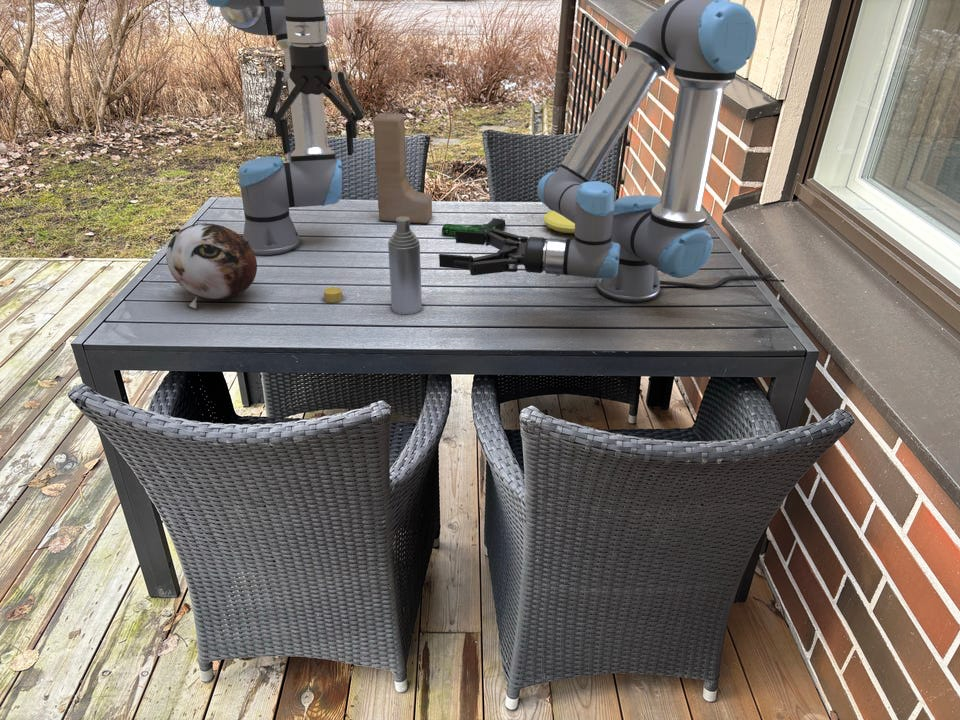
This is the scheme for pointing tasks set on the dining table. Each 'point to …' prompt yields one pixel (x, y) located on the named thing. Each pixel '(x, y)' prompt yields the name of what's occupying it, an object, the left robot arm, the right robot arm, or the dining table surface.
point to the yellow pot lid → (559, 222)
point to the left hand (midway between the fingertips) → (318, 153)
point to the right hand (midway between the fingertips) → (448, 248)
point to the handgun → (474, 227)
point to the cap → (332, 294)
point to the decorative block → (396, 173)
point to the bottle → (405, 269)
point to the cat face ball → (211, 261)
